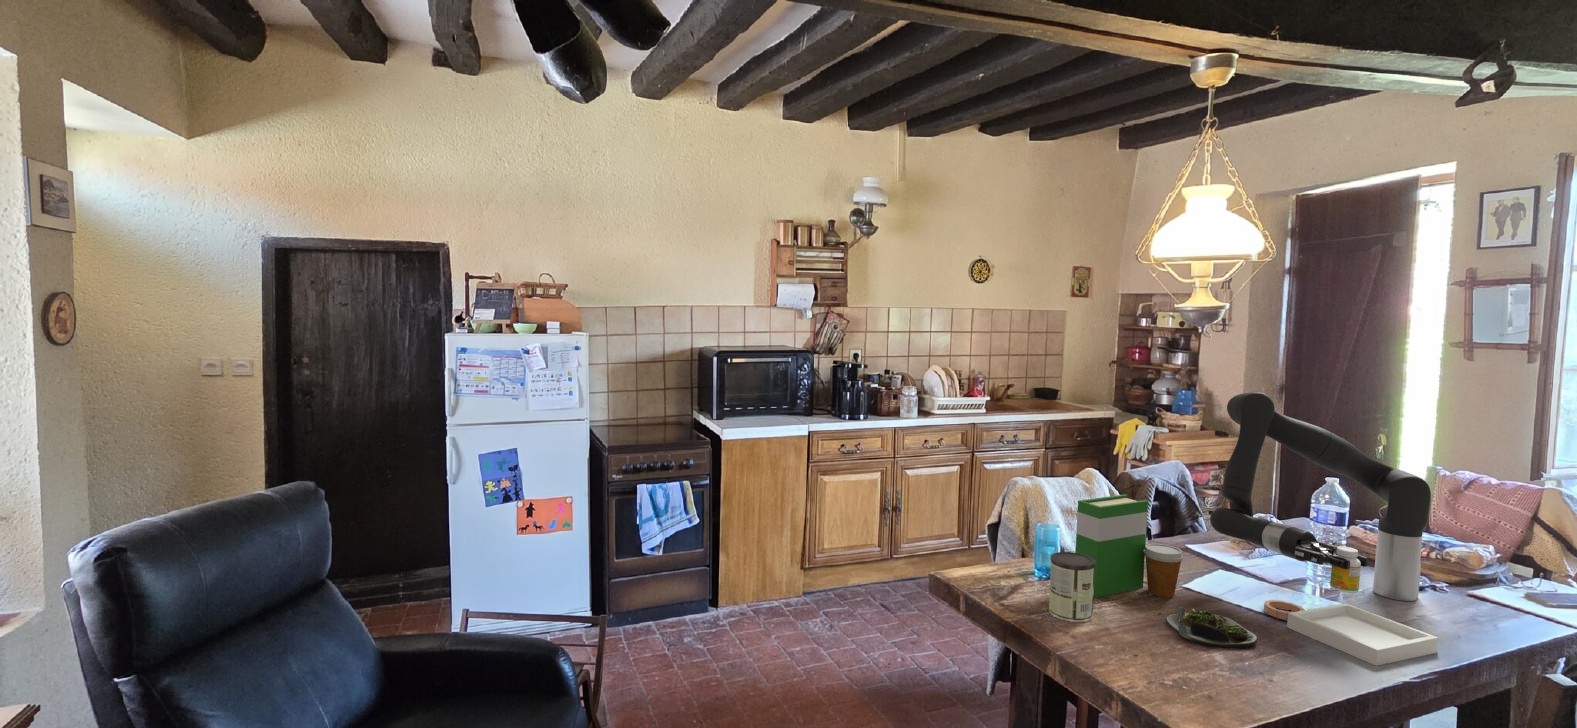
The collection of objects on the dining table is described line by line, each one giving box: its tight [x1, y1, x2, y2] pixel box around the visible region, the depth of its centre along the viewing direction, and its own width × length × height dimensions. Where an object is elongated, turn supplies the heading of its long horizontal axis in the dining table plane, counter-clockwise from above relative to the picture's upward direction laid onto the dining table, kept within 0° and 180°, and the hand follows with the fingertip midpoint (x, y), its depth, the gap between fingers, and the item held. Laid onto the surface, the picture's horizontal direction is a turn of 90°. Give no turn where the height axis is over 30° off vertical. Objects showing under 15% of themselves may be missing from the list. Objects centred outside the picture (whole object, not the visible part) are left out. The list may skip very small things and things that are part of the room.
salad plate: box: [1166, 606, 1258, 650], centre depth 177 cm, size 19×18×5 cm
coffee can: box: [1048, 551, 1096, 624], centre depth 185 cm, size 10×10×14 cm
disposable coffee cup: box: [1144, 543, 1184, 598], centre depth 199 cm, size 10×10×12 cm
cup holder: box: [1263, 599, 1306, 621], centre depth 187 cm, size 8×8×2 cm
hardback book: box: [1074, 494, 1149, 599], centre depth 202 cm, size 18×7×24 cm, turn 115°
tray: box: [1286, 602, 1439, 667], centre depth 173 cm, size 20×20×4 cm
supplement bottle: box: [1329, 545, 1362, 594], centre depth 176 cm, size 5×5×10 cm
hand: (1357, 563), depth 173 cm, fingers closed on supplement bottle, 5 cm apart
